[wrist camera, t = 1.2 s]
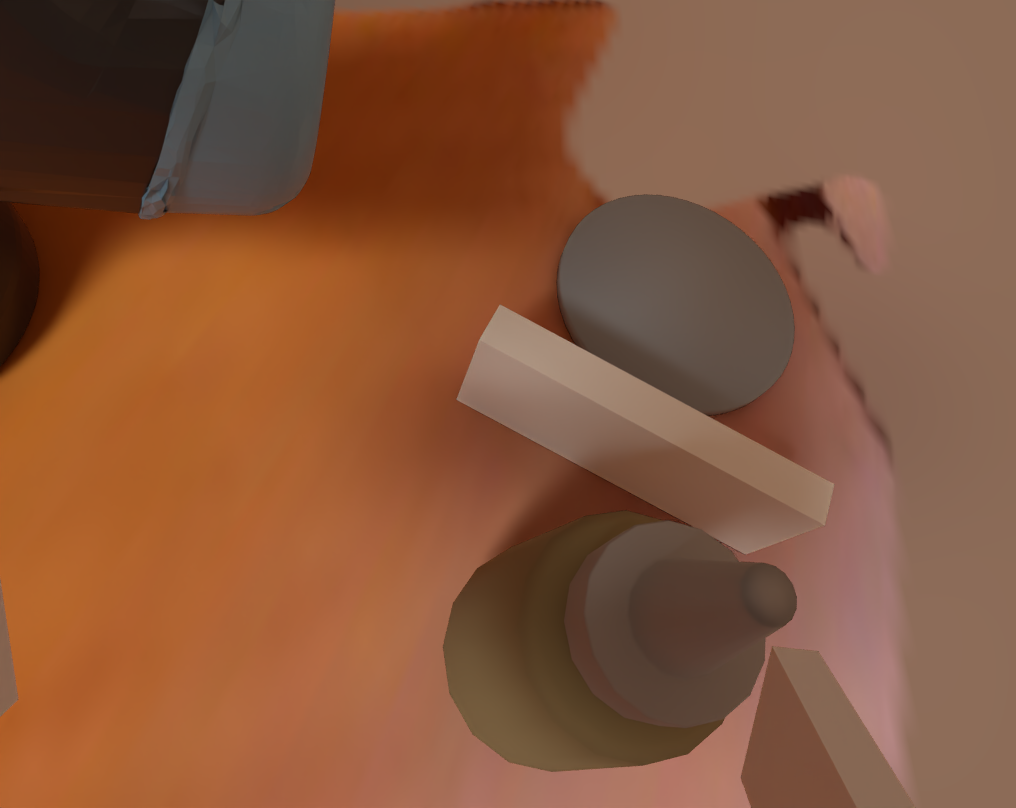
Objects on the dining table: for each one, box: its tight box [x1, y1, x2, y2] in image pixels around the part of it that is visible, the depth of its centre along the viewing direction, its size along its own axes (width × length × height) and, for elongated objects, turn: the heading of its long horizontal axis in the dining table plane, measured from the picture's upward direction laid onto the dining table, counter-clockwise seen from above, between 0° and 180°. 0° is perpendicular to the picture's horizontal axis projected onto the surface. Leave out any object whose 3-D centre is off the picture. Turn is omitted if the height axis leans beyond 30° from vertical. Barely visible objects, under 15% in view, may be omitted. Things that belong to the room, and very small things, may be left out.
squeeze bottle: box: [443, 510, 797, 772], centre depth 20 cm, size 8×8×18 cm
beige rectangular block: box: [456, 305, 834, 555], centre depth 30 cm, size 16×2×6 cm, turn 65°
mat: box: [557, 195, 795, 416], centre depth 38 cm, size 14×14×1 cm
